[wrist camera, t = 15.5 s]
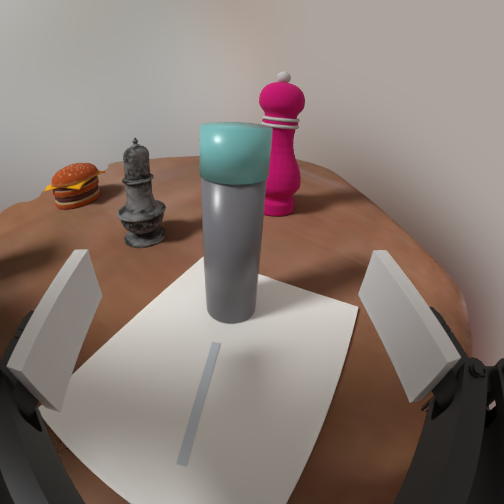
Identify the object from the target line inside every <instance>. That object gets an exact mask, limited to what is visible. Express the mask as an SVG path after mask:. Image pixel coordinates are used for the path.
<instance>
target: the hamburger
mask: <svg viewBox="0 0 504 504" xmlns="http://www.w3.org/2000/svg"><path fill="white" fill-rule="evenodd" d="M100 173H105V171H99V170H98V169H97V168H96V167H95V166H94V165H93V164H90V163H76V164H72V165H69V166H66V167H64V168H63V169H61V170H59V171H58V172H57V173H56V174H55V175H54V176H53V178H52V182H51V184H50V185H48V186H47V188H46V189H45V191H49V190H53V194H54V196H55V199H56V201H55V204H56V206H57V207H58V208H59V209H64V210H66V209H74V208H78V207H81V206H84V205H86V204H89V203H91V202H93V201H94V200H96V199H97V198H98V197H99V196H100V188H99V187H98V183H99V181H98V176H97V175H98V174H100Z"/></svg>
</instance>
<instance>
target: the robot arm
mask: <svg viewBox="0 0 504 504" xmlns="http://www.w3.org/2000/svg"><path fill="white" fill-rule="evenodd" d="M102 296H103V295H102V293H101V290H100V287H99V284H98V281H97V278H96V275H95V272H94V268H93V265H92V262H91V258H90V255H89V252H88V250H74V251H73V253H72V254H71V256H70V257H69V258H68V260H67V261H66V263H65V264H64V265H63V267H62V268H61V270H60V271H59V273H58V274H57V276H56V277H55V279H54V280H53V282H52V283H51V285H50V286H49V288H48V290H47V291H46V293H45V294H44V296H43V298H42V299H41V301H40V303H39V304H38V306H37V308H36V309H35V311H30V312H29V313H28V314H27V315H26V316H25V317H24V318H23V320H22V322H21V323H20V325H19V327H18V330H17V331H16V333H15V335H14V338H12V340H11V342H10V344H9V346H8V348H7V350H6V352H5V354H4V357H3V359H2V361H1V363H0V504H85V502H84V501H83V499H82V498H81V496H80V494H79V493H78V491H77V490H76V488H75V486H74V484H73V483H72V481H71V479H70V477H69V476H68V474H67V472H66V470H65V468H64V466H63V464H62V462H61V460H60V458H59V456H58V454H57V452H56V450H55V447H54V445H53V443H52V441H51V438H50V436H49V434H48V431H47V429H46V426H45V424H44V421H43V418H42V416H41V413H40V411H39V409H38V407H37V406H36V405H37V402H38V401H39V402H40V403H41V404H42V405H43V406H44V407H45V408H48V409H51V410H54V411H57V412H60V413H61V409H62V405H63V402H64V398H65V395H66V391H67V388H68V385H69V382H70V379H71V375H72V372H73V369H74V366H75V364H76V361H77V358H78V355H79V352H80V350H81V347H82V344H83V342H84V339H85V336H86V334H87V331H88V329H89V326H90V324H91V322H92V319H93V317H94V314H95V312H96V310H97V307H98V305H99V303H100V301H101V298H102ZM358 296H359V298H360V299H361V301H362V303H363V305H364V307H365V309H366V311H367V313H368V315H369V317H370V318H371V320H372V322H373V324H374V326H375V328H376V330H377V332H378V334H379V336H380V338H381V340H382V343H383V345H384V347H385V349H386V351H387V353H388V355H389V357H390V359H391V361H392V364H393V366H394V368H395V370H396V372H397V375H398V377H399V379H400V381H401V384H402V386H403V388H404V390H405V393H406V395H407V397H408V400H409V402H410V403H413V402H416V401H418V400H421V399H424V398H425V397H426V396H427V395H428V394H429V393H430V392H431V391H432V392H433V394H434V396H433V397H432V398H431V399H430V400H429V401H428V402H427V403H426V404H424V405H423V406H422V408H421V410H422V411H423V410H424V409H425V408H426V407H428V406H429V408H428V409H427V411H426V412H427V415H426V419H425V423H424V426H423V430H422V433H421V436H420V439H419V442H418V445H417V448H416V451H415V454H414V457H413V460H412V462H411V465H410V468H409V470H408V473H407V475H406V477H405V480H404V482H403V484H402V487H401V489H400V491H399V493H398V495H397V497H396V500H395V502H394V504H504V358H503V359H500V360H499V361H498V362H497V364H496V365H495V366H484V364H483V363H482V362H481V361H480V360H478V359H476V358H468V356H467V355H466V353H465V352H464V350H463V348H462V347H461V345H460V344H459V342H458V340H457V339H456V337H455V336H454V334H453V333H452V332H451V329H450V328H449V326H448V325H446V322H445V320H444V319H443V318H442V316H441V315H440V314H439V313H438V312H437V311H436V310H435V309H434V308H433V307H429V306H428V305H427V304H426V302H425V301H424V299H423V298H422V296H421V295H420V294H419V292H418V291H417V290H416V288H415V287H414V285H413V284H412V283H411V281H410V280H409V279H408V277H407V276H406V275H405V274H404V272H403V271H402V270H401V268H400V267H399V266H398V264H397V263H396V262H395V261H394V259H393V258H392V257H391V256H390V254H389V253H388V252H387V251H386V250H373V253H372V256H371V259H370V262H369V265H368V268H367V271H366V274H365V277H364V280H363V282H362V285H361V288H360V291H359V293H358ZM494 400H495V402H496V406H495V407H494V408H493V409H491V410H490V409H489V405H490V404H491V403H492V402H493V401H494Z"/></svg>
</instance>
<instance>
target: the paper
mask: <svg viewBox="0 0 504 504" xmlns="http://www.w3.org/2000/svg"><path fill="white" fill-rule="evenodd" d="M357 311H358V307H357V306H354V305H351V304H347V303H344V302H341V301H338V300H335V299H332V298H329V297H326V296H323V295H320V294H317V293H314V292H310V291H307V290H304V289H301V288H298V287H295V286H292V285H289V284H286V283H283V282H280V281H277V280H274V279H271V278H268V277H266V276H263V275H260V274H258V284H257V295H256V306H255V311H254V314H253V315H252V316H251V317H250V318H249V319H248V320H246V321H244V322H241V323H237V324H226V323H221V322H219V321H217V320H215V319H213V318H212V317H211V316H210V315H209V313H208V311H207V305H206V290H205V273H204V257H202V258H201V259H200V260H199V261H198V262H197V263H195V264H194V265H193V266H192V267H191V268H190V269H188V270H187V271H186V272H185V273H184V274H183V275H181V276H180V277H179V278H178V279H177V280H176V281H175V282H173V283H172V284H171V285H170V286H169V287H168V288H167V289H165V290H164V291H163V292H162V293H161V294H160V295H159V296H157V297H156V298H155V299H154V300H153V301H152V302H151V303H150V304H148V305H147V306H146V307H145V308H144V309H143V310H142V311H141V312H139V313H138V314H137V315H136V316H135V317H134V318H133V319H132V320H131V321H129V322H128V323H127V324H126V325H125V326H124V327H123V328H122V329H121V330H120V331H118V332H117V333H116V334H115V335H114V336H113V337H112V338H111V339H110V340H109V341H108V342H106V343H105V344H104V345H103V346H102V347H101V348H100V349H99V350H98V351H97V352H96V353H95V354H94V355H92V356H91V357H90V358H89V359H88V360H87V361H86V362H85V363H84V364H83V365H82V366H81V367H80V368H79V369H78V370H77V371H76V372H74V373H73V374H72V375H71V379H70V382H69V385H68V388H67V391H66V395H65V398H64V402H63V405H62V409H61V413H60V412H57V411H54V410H51V409H48V408H45V407H44V406H43V405H41V406H40V407H39V408H38V409H39V411H40V413H41V416H42V418H43V419H44V420H45V421H46V423H47V424H48V425H49V426H50V428H51V429H52V430H53V431H54V432H55V434H56V435H57V436H58V437H59V438H60V439H61V440H62V442H63V443H64V444H65V445H66V446H67V447H68V448H69V449H70V450H71V451H72V452H73V453H74V454H75V456H76V457H77V458H78V459H79V460H80V461H81V462H82V463H83V464H85V465H86V466H87V467H88V468H89V469H90V470H91V471H92V472H93V473H94V474H95V475H96V476H97V477H99V478H100V479H101V480H102V481H103V482H104V483H105V484H107V485H108V486H109V487H110V488H111V489H113V490H114V491H115V492H116V493H118V494H119V495H120V496H121V497H123V498H124V499H125V500H127V501H128V502H129V503H131V504H286V503H287V501H288V499H289V497H290V496H291V494H292V492H293V490H294V488H295V486H296V484H297V482H298V480H299V478H300V476H301V474H302V471H303V469H304V467H305V465H306V463H307V461H308V458H309V456H310V454H311V452H312V449H313V447H314V445H315V442H316V440H317V437H318V435H319V433H320V430H321V427H322V425H323V422H324V420H325V417H326V414H327V412H328V409H329V406H330V403H331V401H332V398H333V395H334V392H335V389H336V386H337V383H338V380H339V377H340V374H341V370H342V367H343V364H344V361H345V357H346V354H347V350H348V347H349V343H350V339H351V336H352V332H353V328H354V324H355V320H356V316H357Z"/></svg>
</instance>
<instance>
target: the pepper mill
mask: <svg viewBox="0 0 504 504" xmlns="http://www.w3.org/2000/svg"><path fill="white" fill-rule="evenodd" d="M277 79H278V81H279V82H275V83H271V84H269V85H267V86H266V87H264V88H263V90H262V91H261V94H260V97H259V103H260V106H261V107H262V109H263V110H264V112H265V115H263V116H262V118H263V120H262V121H263V122H262V123H261V124H262V125H266V126H270V127H272V128H273V130H272V142H271V154H270V166H269V177H268V178H267V182H266V194H265V206H264V215H268V216H285V215H288V214H290V213H292V212H293V209H294V202H295V199H294V197H293V196H292V195H293V194H294V193H295V192H296V191H297V190H298V189H299V187H300V178H301V177H300V171H299V167H298V164H297V162H296V159H295V155H294V149H293V139H294V133H295V129H298V128H299V126H298V122H299V119H297V115H298V114H299V113H300V112H301V111H302V110H303V108H304V105H305V98H304V95H303V92H302V91H301V90H300V89H299V88H298V87H297V86H295V85H293V84H290V83H288V82H289V81H290V79H291V77H290V74H289V73H287V72H280V73H279V74H278V76H277Z"/></svg>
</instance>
